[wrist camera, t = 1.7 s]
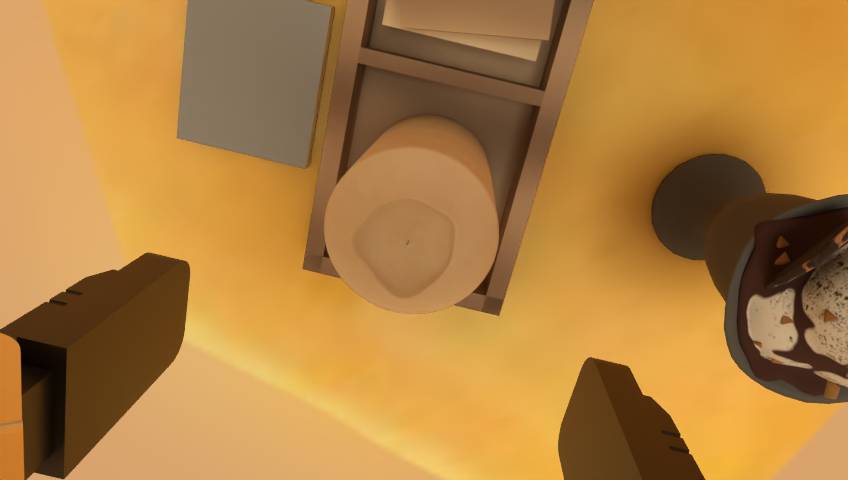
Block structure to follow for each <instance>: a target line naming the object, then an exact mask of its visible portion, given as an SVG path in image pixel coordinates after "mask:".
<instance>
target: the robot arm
mask: <svg viewBox="0 0 848 480" xmlns="http://www.w3.org/2000/svg"><path fill="white" fill-rule="evenodd" d="M189 280H190V267H189V264H188V262H186V261H183V260H179V259H174V258H170V257H166V256H162V255H157V254H153V253H145V254H143V255H142V256H140V257H139V258H137V259H136V260H134V261H133V262H131V263H130V264H128V265H126V266H125V267H123V268H122V269H120V270H119V271H117V270H110V271H107V272H103V273H99V274H96V275H92V276H89V277H86V278H84V279H82V280H81V281H79V282H77V283H76V284H74V285H73V286H71V287H69V288H68V289H66V292H61V293H59V294H58V295H56V296H55V297H53V298H51V299H50V301H49V303H48V302H45V303H43V304H41V305H40V306H38V307H36V308H35V309H33V310H32V311H30V312H28V313H27V314H25V315H23V316H22V317H20V318H18V319H17V320H15V321H13V322H12V323H10V324H9V325H7V326H6V327H4V328H2V329H0V480H27V479H28V478H29V477H30V475H32V473H34V472H35V473H39V474H44V475H47V476H52V477H56V478H61V479H65V477H67V475H68V474H69V473H70V472H71V471H72V470H73V469H74V468H75V467H76V465H78V464H79V462H80V461H81V460H82V459H83V458H84V457H85V456H86V455H87V454H88V453H89V452H90V451H91V449H93V447H94V446H95V445H96V444H97V443H98V442H99V441H100V440H101V439H102V438H103V437H104V436H105V435H106V433H107V432H108V431H109V430H110V429H111V428H112V427H113V426H114V425H115V424H116V423H117V422H118V421H119V419H120V418H121V417H122V416H123V415H124V414H125V413H126V412H127V410H129V409H130V408H131V406H132V405H133V404H134V403H135V402H136V401H137V400H138V399H139V398H140V397H141V396H142V395H143V393H144V392H145V391H146V390H147V389H148V388H149V387H150V386H151V385H152V384H153V383H154V382H155V381H156V380H157V379H158V377H159V376H160V375H161V374H162V373H163V372H164V371H165V370H166V369H167V368H168V367H169V366H170V364H171V363H172V362H173V361H174V359H175V358H176V356H177V354H178V352H179V349H180V347H181V344H182V341H183V337H184V331H185V321H186V311H187V301H188V291H189ZM558 451H559V458H560V462H561V467H562V471H563V475H564V480H705V478H704V476H703V475H702V473H701V471H700V469H699V467H698V465H697V464H696V462H695V460H694V458H693V456H692V455H691V454H689V449H688V447H687V445H686V444H685V442H684V440H683V438H680V433H679V431H678V429H677V427H676V425H675V424H674V422H673V420H672V418H671V416H670V415H669V414H668V413H667V412H666V411H665V410H664V409H663V408H662V407H661V406H660V405H659V404H658V403H657V402H655V401H654V400H653V399H652V398H651V397H649V396H645V395H643V394H642V392H641V390H640V388H639V386H638V384H637V382H636V380H635V378H634V376H633V374H632V372H631V370H630V368H629V367H628V366H625V365H621V364H617V363H613V362H608V361H604V360H600V359H596V358H591V357H590V358H588V359H587V360H586V361H585V362H584V364H583V366H582V368H581V371H580V374H579V377H578V379H577V382H576V385H575V388H574V390H573V393H572V396H571V399H570V401H569V404H568V407H567V410H566V413H565V415H564V418H563V421H562V424H561V428H560V433H559V441H558Z"/></svg>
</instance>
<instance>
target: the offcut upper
mask: <svg viewBox="0 0 848 480" xmlns="http://www.w3.org/2000/svg"><path fill="white" fill-rule="evenodd" d="M554 2H555V0H401V15H400V27H401V28H407V29H418V30H430V31H441V32H453V33H464V34H475V35H487V36H498V37H510V38H521V39H533V40H549V37H550V30H551V23H552V16H553V9H554Z"/></svg>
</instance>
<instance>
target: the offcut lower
mask: <svg viewBox="0 0 848 480" xmlns="http://www.w3.org/2000/svg"><path fill="white" fill-rule="evenodd" d="M400 15H401V0H386V5H385V11H384V16H383V21H382V25H386V26H391V27H395V28H399V29H403V30H407V31H411V32H416V33H420V34H424V35H428V36H432V37H436V38H441V39H445V40H449V41H453V42H457V43H461V44H466V45H470V46H474V47H478V48H482V49H486V50H491V51H495V52H499V53H503V54H507V55H511V56H516V57H520V58H524V59H528V60H532V61H536V59H537V55H538V52H539V48H540V45H541V41H542V40H533V39H521V38H510V37H498V36H487V35H475V34H464V33H453V32H441V31H430V30H418V29H407V28H401V27H400Z"/></svg>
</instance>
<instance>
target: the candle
mask: <svg viewBox="0 0 848 480" xmlns="http://www.w3.org/2000/svg"><path fill="white" fill-rule="evenodd" d="M324 236H325V243H326V247H327V251H328V254H329V257H330V259H331V262H332V264H333V266H334V267H335V269H336V271H337V273H338V274H339V275H340V277H341V278H342V280H343V281H344V282H345V283H346V284H347V285H348V286H349V287H350V288H351V289H352V290H353V291H354V292H355V293H356V294H358V295H359V296H360V297H362V298H363V299H365V300H366V301H368V302H370V303H372V304H374V305H376V306H378V307H381V308H384V309H386V310H390V311H394V312H398V313H407V314H422V313H430V312H434V311H438V310H442V309H445V308H447V307H450V306H452V305H454V304H456V303H458V302H460V301H461V300H463V299H464V298H466V297H467V296H468V295H470V294H471V293H472V292H473V291H474V290H475V289H476V288H477V287H478V286H479V285H480V284H481V282H482V281H483V280H484V279H485V277H486V275H487V274H488V272H489V271H490V269H491V266H492V264H493V262H494V259H495V256H496V253H497V248H498V242H499V224H498V217H497V210H496V204H495V197H494V191H493V185H492V178H491V172H490V166H489V163H488V159H487V156H486V153H485V151H484V149H483V147H482V145H481V144H480V142H479V141H478V139H477V138H476V137H475V135H474V134H473V133H472V132H470V131H469V130H468V129H467V128H466V127H464V126H463V125H462V124H460V123H458V122H456V121H454V120H452V119H449V118H447V117H443V116H439V115H418V116H413V117H409V118H406V119H404V120H402V121H399V122H398V123H396V124H394V125H393V126H391V127H390V128H389V129H388V130H387V131H385V132H384V133H383V134H382V135H381V136H380V137H379V138H378V139H377V140H376V141H375V142H374V144H373V145H372V146H371V147H370V148H369V149H368V150H367V151H366V152H365V153H364V154H363V155H362V156H361V157H360V158H359V159H358V161H357V162H356V163H355V164H354V165H353V166H352V167H351V168H350V169H349V170H348V171H347V172H346V174H345V175H344V176H343V177H342V178H341V179H340V181H339V182H338V184H337V185H336V187H335V188H334V190H333V192H332V194H331V196H330V198H329V201H328V205H327V208H326V213H325V218H324Z"/></svg>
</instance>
